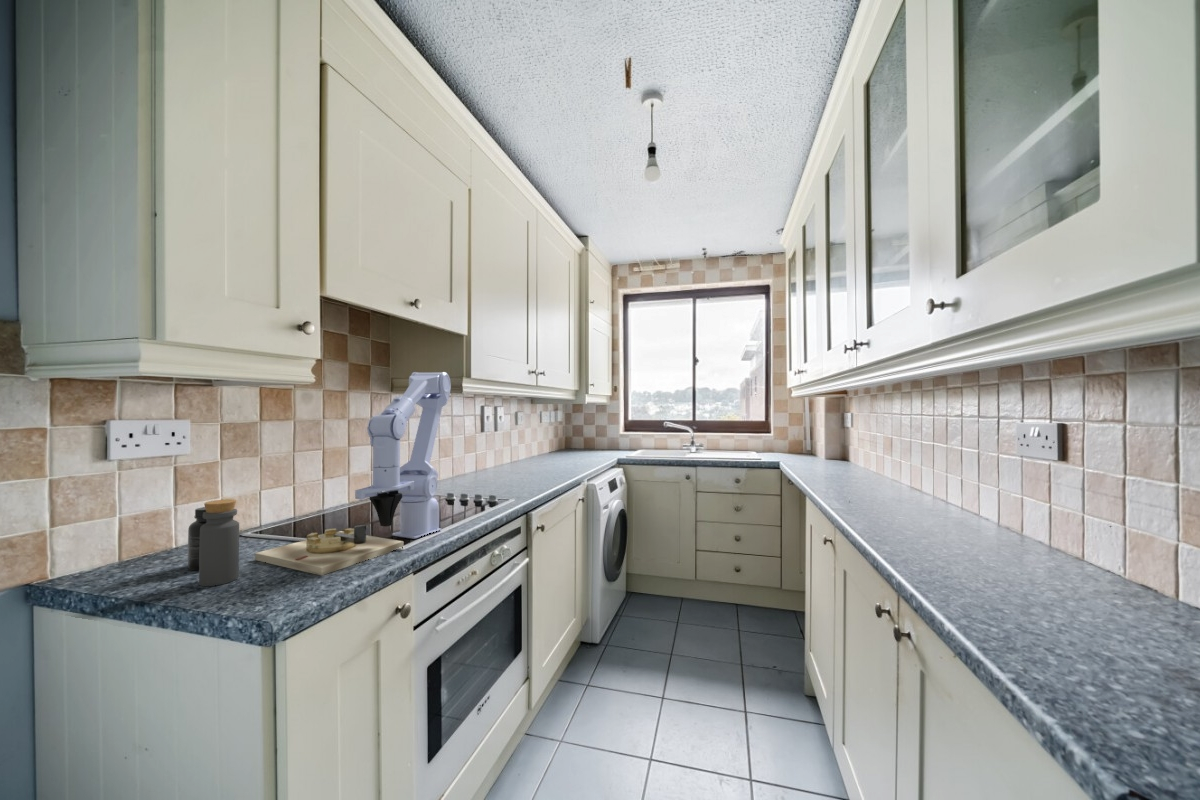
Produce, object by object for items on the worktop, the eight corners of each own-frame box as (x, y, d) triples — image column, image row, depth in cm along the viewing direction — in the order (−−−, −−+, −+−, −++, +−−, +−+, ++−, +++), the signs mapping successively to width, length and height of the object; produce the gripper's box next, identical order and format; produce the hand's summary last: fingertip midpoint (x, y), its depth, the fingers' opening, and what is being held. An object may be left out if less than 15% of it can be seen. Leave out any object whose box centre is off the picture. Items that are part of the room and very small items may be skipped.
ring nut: (338, 538, 112) (338, 515, 112) (383, 546, 105) (383, 521, 105) (295, 549, 103) (296, 524, 103) (342, 559, 96) (342, 532, 96)
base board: (340, 536, 119) (340, 530, 119) (403, 547, 109) (403, 540, 110) (254, 560, 101) (255, 552, 101) (321, 575, 91) (321, 566, 91)
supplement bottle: (235, 563, 98) (236, 506, 99) (194, 573, 93) (195, 512, 93) (222, 558, 102) (223, 503, 102) (182, 566, 96) (183, 508, 97)
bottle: (205, 578, 90) (206, 500, 90) (242, 573, 93) (243, 497, 93) (193, 588, 85) (195, 505, 85) (233, 583, 87) (234, 503, 88)
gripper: (399, 462, 116) (398, 517, 116) (345, 468, 103) (345, 530, 102) (420, 463, 113) (420, 520, 113) (368, 470, 100) (367, 534, 100)
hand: (385, 525), depth 107 cm, fingers closed
